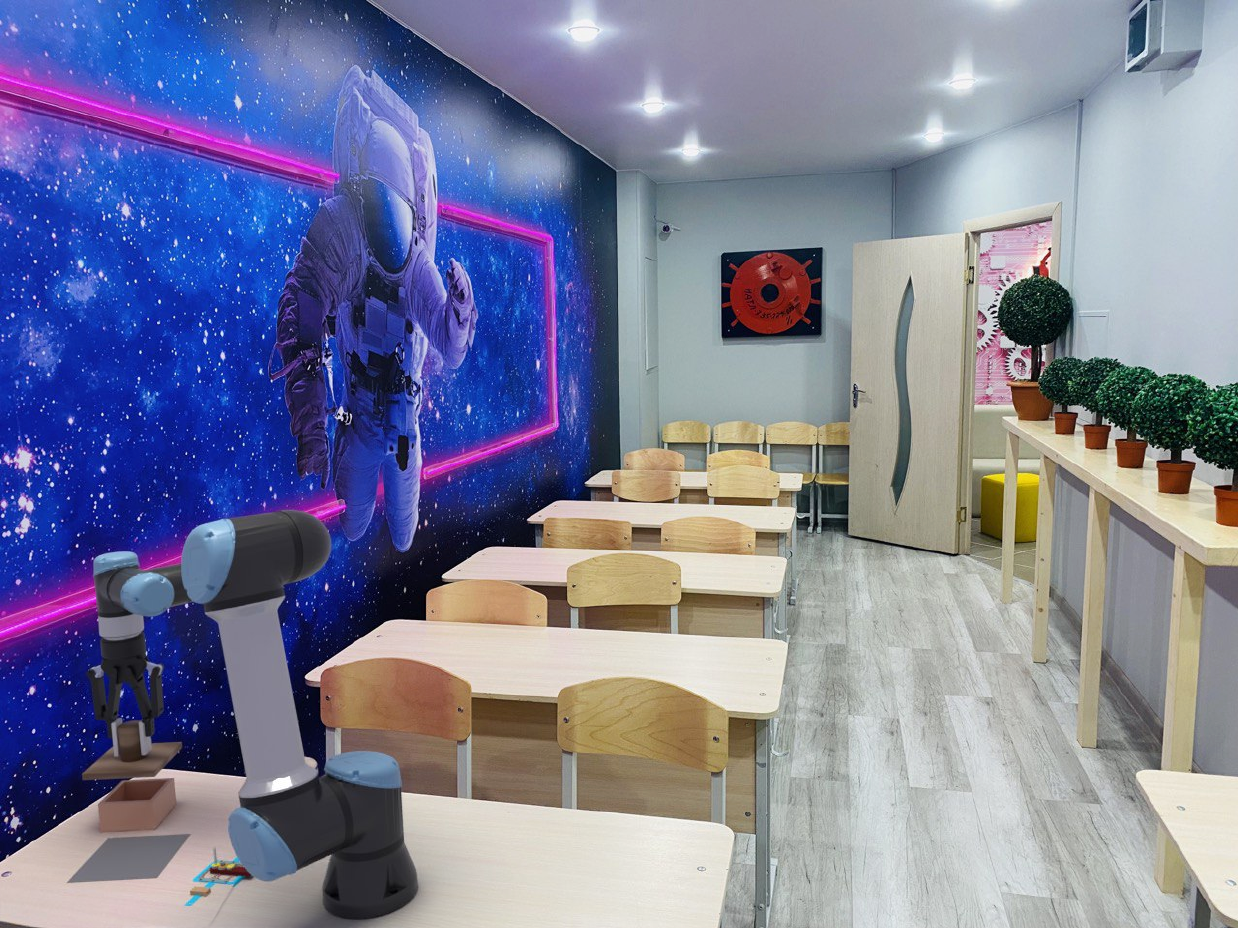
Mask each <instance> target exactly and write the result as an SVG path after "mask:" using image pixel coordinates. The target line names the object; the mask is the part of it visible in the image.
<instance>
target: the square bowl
mask: <svg viewBox="0 0 1238 928" xmlns="http://www.w3.org/2000/svg"><path fill="white" fill-rule="evenodd" d="M175 783H176V782H175V777H168V778H167V777H166V778H144V779H143V778H142V779H127V780H125V779H124V780H121V781H120V782H119V783H118V784H117V785H116V786H115V787H114V788H113V789H112V790H111V791H110V792H109V793H107V795H106V796H104V797H103V799H102V800H101V801H100V802H99V803H98V804H97V810H98V820H99V829H100V830H99V831H100V833H115V832H116V833H117V832H133V831H134V832H135V831H151V830H152V831H155V830H156V829H157V828H158V827H159V826H160V825H161V824H162V822H163V821H164V820H165V819H166V817H168V815H169V814H170V813H171V812H172V811H173V809H174V808H175V807H176V806H177V795H176V784H175Z"/></svg>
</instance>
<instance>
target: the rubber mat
mask: <svg viewBox="0 0 1238 928" xmlns="http://www.w3.org/2000/svg"><path fill="white" fill-rule="evenodd" d="M190 836H191V833H181V834H166V835H165V834H162V835H145V836H144V835H143V836H127V837H126V836H125V837H124V836H123V837H121V836H120V837H108V838H107V839H106V840H105V841H104V842H103V843H102V844H101V845H100V846H99V847H98V848H97V849H96V850H95V852H94V853H93V854H92V855H91V856H90V857H89V858H88V859H87V860H86V861H85V862H84V863H83V864H82V866H81V867H79V869H77V871H76V872H75V873H74V874H73V875H72V876H71V877H70V878H69V879H68V880H67V882H66V884H72V883H76V884H77V883H90V882H95V883H96V882H109V881H110V882H111V881H128V880H129V881H130V880H131V881H132V880H146V879H149V880H150V879H158V877H159V876H160V875H161V873H163V871H164V870H165V868H166V867H167V866H168V864H169V863H170V862H171V861H172V859H174V857H175V856H176V854H177V852H178V851H179V850H180V849H181V848H182V847H183V845H184V844H185V842H187V840H188V838H189V837H190Z"/></svg>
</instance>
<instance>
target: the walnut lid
mask: <svg viewBox="0 0 1238 928" xmlns="http://www.w3.org/2000/svg"><path fill="white" fill-rule="evenodd" d="M140 721H141V720H137V719H135V720H128V721H124V722H122V724H120V725H119V726H118V736H119V746H120V755H119V756H115V757H114V747H113V746H112V747H111V748H110V749H108V750H107V751H106V752H105V753H104V754H102V755H101V756H100V757H99V758H98V759H97V760H95V762H94V763H92V764H91V765H90V766H89V767H88V768H87V769H86V770H85V771H84V772H82V774H81V777H82V781H91V780H92V781H95V780H115V779H120V780H121V779H139V778H142V779H143V778H155V777H157V775H158V774H159V773H160V772H161V771H162V770H163V769H164V768H165V766H166V765H167V764H168V763H169V762H170V761H171V760H172V759H174V757H175V756H176V755H177V754H178V753H179V752H180V751H181V750H182V749H183V741H173V742H172V741H171V742H154V743H153V742H151V747H152V749H151V750H150V751H149V752H148V753H147V754H146V755H142V754H141V743H140V732H139V722H140Z"/></svg>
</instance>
